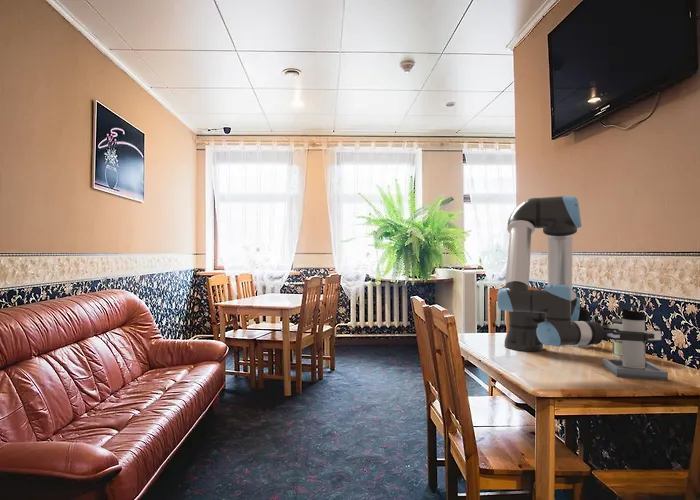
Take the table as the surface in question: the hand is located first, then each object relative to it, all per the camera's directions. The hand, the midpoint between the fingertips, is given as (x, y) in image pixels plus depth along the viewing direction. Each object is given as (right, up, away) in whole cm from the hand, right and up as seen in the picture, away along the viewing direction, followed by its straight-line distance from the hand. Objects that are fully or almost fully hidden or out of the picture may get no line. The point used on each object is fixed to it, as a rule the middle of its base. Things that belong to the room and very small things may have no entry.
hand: (641, 331), depth 139 cm
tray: (-3, -13, -1) cm, 14 cm away
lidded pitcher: (+5, -15, +42) cm, 45 cm away
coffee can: (+10, -14, +22) cm, 28 cm away
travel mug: (-3, -13, -1) cm, 13 cm away
